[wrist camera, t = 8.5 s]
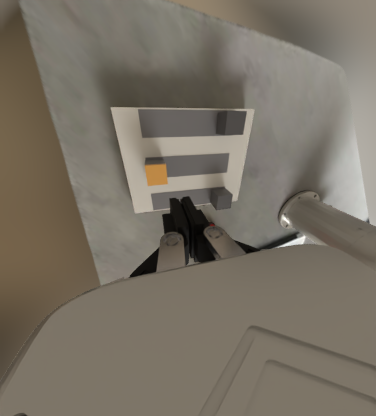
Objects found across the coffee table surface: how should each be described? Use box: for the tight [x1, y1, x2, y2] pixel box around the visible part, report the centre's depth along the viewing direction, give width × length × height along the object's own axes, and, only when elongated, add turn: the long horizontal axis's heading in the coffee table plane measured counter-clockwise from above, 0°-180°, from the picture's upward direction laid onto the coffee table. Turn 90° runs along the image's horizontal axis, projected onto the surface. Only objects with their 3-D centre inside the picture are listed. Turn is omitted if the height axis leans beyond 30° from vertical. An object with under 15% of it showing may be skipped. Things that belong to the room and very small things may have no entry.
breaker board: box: [111, 107, 255, 213], centre depth 25 cm, size 22×17×6 cm
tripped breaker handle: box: [145, 159, 168, 186], centre depth 22 cm, size 3×3×4 cm
